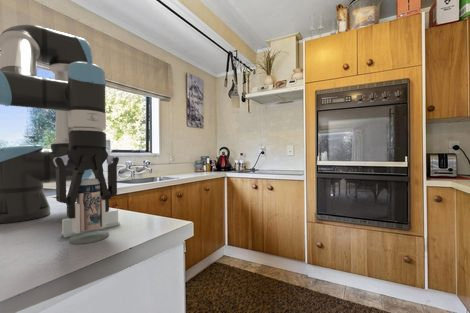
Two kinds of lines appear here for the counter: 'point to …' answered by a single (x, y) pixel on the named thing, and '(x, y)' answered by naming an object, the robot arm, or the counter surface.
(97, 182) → the beer can
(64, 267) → the counter surface
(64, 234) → the divider
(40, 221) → the counter surface
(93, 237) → the coaster
